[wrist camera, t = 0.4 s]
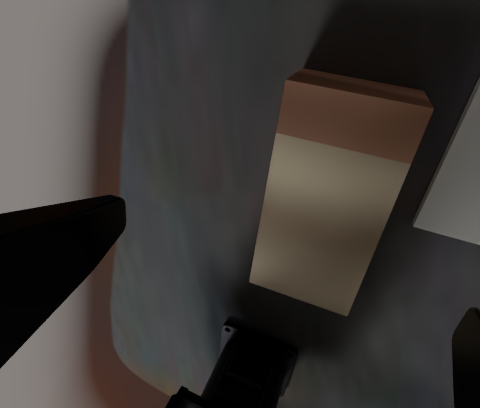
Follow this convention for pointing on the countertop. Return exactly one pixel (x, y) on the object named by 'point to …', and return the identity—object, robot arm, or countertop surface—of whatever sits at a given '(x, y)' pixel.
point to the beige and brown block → (334, 183)
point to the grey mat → (456, 182)
